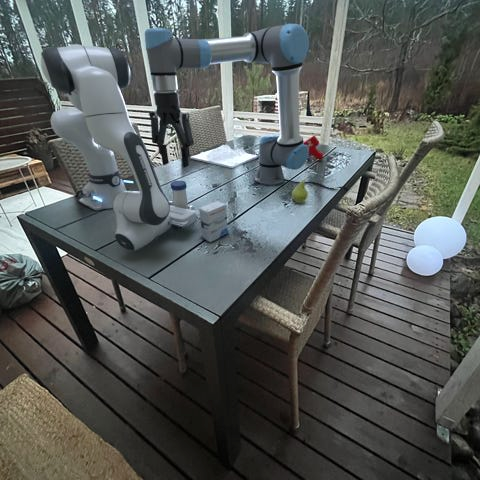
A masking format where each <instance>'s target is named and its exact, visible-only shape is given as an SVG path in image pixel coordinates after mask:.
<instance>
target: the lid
mask: <svg viewBox="0 0 480 480" xmlns="http://www.w3.org/2000/svg"><path fill="white" fill-rule="evenodd" d="M185 188H186V189H187V183H186V181H184V180H173V181H172V182H171V183H170V189H171V191H172V190H183V189H185Z"/></svg>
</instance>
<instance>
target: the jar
mask: <svg viewBox="0 0 480 480" xmlns="http://www.w3.org/2000/svg"><path fill="white" fill-rule="evenodd" d="M171 191H172V196H173V197H172V198H173V202H174V206H175V207H179V208H183V209H188V207H189V203H188V196H187V195H188V194H187V187H186V188H185V189H183V190H172V189H171Z"/></svg>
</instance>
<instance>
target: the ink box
mask: <svg viewBox="0 0 480 480" xmlns="http://www.w3.org/2000/svg"><path fill="white" fill-rule="evenodd" d="M198 213H199V221H200V233H201V237H202V238H203V239H204V240H205V241H207V242H209V243H211V242H213V241H216V240H217V239H219V238H221V237H223V236H226V235H227V234H228V214H227V213H228V211H227V204H226V203H224V202H221V201H219V200H217V201H213V202H211V203H208V204H205V205H204V206H201V207H198Z"/></svg>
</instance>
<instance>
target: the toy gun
mask: <svg viewBox="0 0 480 480" xmlns="http://www.w3.org/2000/svg"><path fill="white" fill-rule="evenodd" d="M303 144H304V145H306V146H307V147H308V149H309V155H308V157H310V156H312V157H313V158H314V159H315V160H316V162H318V163H319V161H322V160H323V157H324V153H323V152H322V151H320V150H319V149H318V148H317V147H318V146H319V144H320V141H319V140H318V138H317V136H316V135H312V136H311V137H310V138H308V139H306V140H305V141H303ZM317 159H319V161H317ZM320 159H321V160H320Z"/></svg>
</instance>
